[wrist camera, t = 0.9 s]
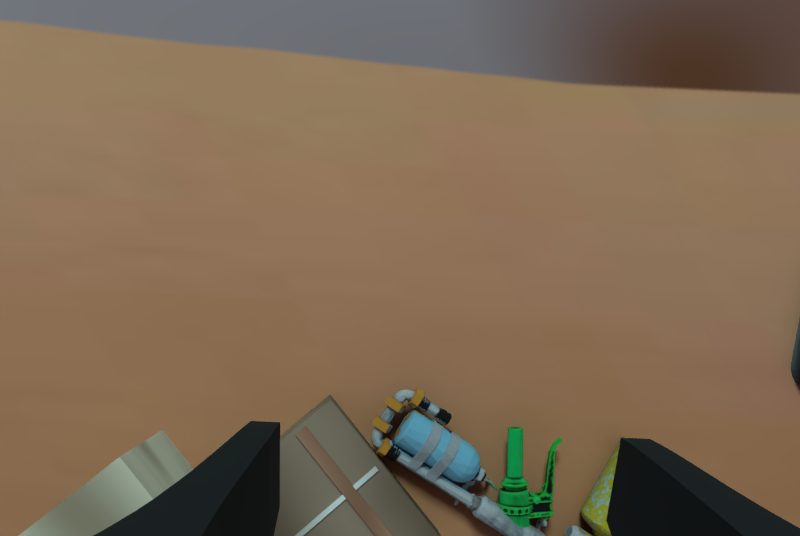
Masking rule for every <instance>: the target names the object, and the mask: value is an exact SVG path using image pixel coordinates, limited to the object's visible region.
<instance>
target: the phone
mask: <svg viewBox="0 0 800 536" xmlns="http://www.w3.org/2000/svg"><path fill="white" fill-rule="evenodd" d="M791 372H792V376H793V378H794V380H795V381H796V382H797V383H798V384H799V385H800V319H799V324H798V330H797V335H796V340H795V346H794V351H793V356H792V362H791Z"/></svg>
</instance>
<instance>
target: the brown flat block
mask: <svg viewBox="0 0 800 536" xmlns="http://www.w3.org/2000/svg"><path fill="white" fill-rule="evenodd" d="M274 536H441V535H440V534H439V532H438V530H437V529H436V527H435V526H434V525H433V524H432V522H431V521H430V520H429V519H428V517H427V516H426V515H425V514H424V512H423V511H422V510H421V509H420V507H419V506H418V505H417V504H416V502H415V501H414V500H413V498H412V497H411V496H410V495H409V493H408V492H407V491H406V490H405V488H404V487H403V486H402V485H401V483H400V482H399V481H398V480H397V478H396V477H395V476H394V475H393V473H392V472H391V471H390V470H389V468H388V467H387V466H386V465H385V463H384V462H383V461H382V459H381V458H380V457H379V456H378V454H376V452H375V451H374V449H373V448H372V447H371V446H370V444H369V443H368V442H367V441H366V439H365V438H364V437H363V436H362V434H361V433H360V432H359V431H358V429H357V428H356V427H355V425H354V424H353V423H352V422H351V420H350V419H349V418H348V417H347V415H346V414H345V413H344V412H343V410H342V409H341V408H340V407H339V405H338V404H337V403H336V402H335V400H334V399H333V398H332V397H331V395H330V396H329V397H327V398H326V399H325V400H324V401H323V402H321V403H320V404H319V405H318V406H316V407H315V408H314V409H313V410H312V411H310V412H309V413H308V414H307V415H305V416H304V417H303V418H302V419H301V420H299V421H298V422H297V423H296V424H295V425H293V426H292V427H291V428H290V429H288V430H287V431H286V432H285V433H284V434H282V435H281V436H280V508H279V513H278V518H277V522H276V527H275V532H274Z"/></svg>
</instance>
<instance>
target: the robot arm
mask: <svg viewBox="0 0 800 536" xmlns="http://www.w3.org/2000/svg"><path fill="white" fill-rule="evenodd" d="M279 508H280V422H257V421H251V422H249V423H248V424H247V425H246V426H244V427H243V428H242V429H241V430H240V431H238V432H237V433H236V434H235V435H234V436H233V437H231V438H230V439H229V440H228V441H227V442H226V443H224V444H223V445H222V446H221V447H220V448H219V449H217V450H216V451H215V452H214V453H213V454H212V455H210V456H209V457H208V458H207V459H206V460H204V461H203V462H202V463H201V464H199V465H198V466H197V467H196V468H195V469H193V470H192V471H191V472H190V473H188V474H187V475H185V476H184V477H183V478H181V479H180V480H179V481H177V482H176V483H175V484H173V485H172V486H171V487H169V488H168V489H166V490H165V491H164V492H162V493H161V494H160V495H158V496H157V497H156V498H154V499H153V500H151V501H150V502H148V503H147V504H145V505H144V506H142V507H141V508H139V509H137V510H136V511H134V512H133V513H131V514H130V515H128V516H126V517H125V518H123V519H121V520H120V521H118V522H116V523H115V524H113V525H111V526H110V527H108V528H106V529H104V530H103V531H101V532H99V533H97V534H95V535H93V536H274V532H275V527H276V522H277V518H278V513H279ZM606 521H607V524H608V527H609V530H610V533H611V536H800V528H798V527H796V526H794V525H793V524H791V523H789V522H787V521H786V520H784V519H782V518H780V517H779V516H777V515H775V514H773V513H772V512H770V511H768V510H766V509H765V508H763V507H761V506H760V505H758V504H756V503H755V502H753V501H751V500H750V499H748V498H746V497H745V496H743V495H741V494H740V493H738V492H736V491H735V490H733V489H732V488H730V487H728V486H727V485H725V484H724V483H722V482H720V481H719V480H717V479H716V478H714V477H712V476H711V475H709V474H708V473H706V472H704V471H703V470H701V469H700V468H698V467H697V466H695V465H693V464H692V463H690V462H689V461H687V460H685V459H684V458H682V457H681V456H679V455H677V454H676V453H674V452H672V451H671V450H669V449H667V448H666V447H664V446H662V445H660V444H658V443H656V442H654V441H652V440H650V439H637V438H621V441H620V446H619V452H618V457H617V463H616V469H615V474H614V480H613V485H612V491H611V497H610V502H609V508H608V513H607V519H606Z"/></svg>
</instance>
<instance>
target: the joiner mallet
mask: <svg viewBox="0 0 800 536" xmlns="http://www.w3.org/2000/svg"><path fill="white" fill-rule="evenodd" d="M192 470H193V468H192V466H191V465H190V464H189V463H188V461H187V460H186V459H185V458H184V456H183V455H182V454H181V453H180V451H179V450H178V449H177V448H176V446H175V445H174V444H173V443H172V441H171V440H170V439H169V437H168V436H167V435H166V434H165V432H164V431H163V430H162V431H160V432H158V433H157V434H155V435H154V436H152V437H150V438H149V439H147V440H146V441H144V442H142V443H141V444H139V445H138V446H136V447H134V448H133V449H131V450H130V451H128V452H126V453H125V454H123V455H122V456H120V457H119V458H117V459H116V460H115V461H114V462H112V463H111V464H110V465H108V466H107V467H106V468H105V469H103V470H102V471H101V472H100V473H98V474H97V475H96V476H94V477H93V478H92V479H91V480H89V481H88V482H87V483H85V484H84V485H83V486H82V487H80V488H79V489H78V490H77V491H75V492H74V493H73V494H71V495H70V496H69V497H68V498H66V499H65V500H64V501H62V502H61V503H60V504H59V505H57V506H56V507H55V508H54V509H52V510H51V511H50V512H48V513H47V514H46V515H45V516H43V517H42V518H41V519H39V520H38V521H37V522H36V523H34V524H33V525H32V526H31V527H29V528H28V529H27V530H25V531H24V532H23V533H22V534H20V535H19V536H93V535H95V534H97V533H99V532H101V531H103V530H104V529H106V528H108V527H110V526H111V525H113V524H115V523H116V522H118V521H120V520H121V519H123V518H125V517H126V516H128V515H130V514H131V513H133V512H134V511H136V510H137V509H139V508H141V507H142V506H144V505H145V504H147V503H148V502H150V501H151V500H153V499H154V498H156V497H157V496H158V495H160V494H161V493H162V492H164V491H165V490H166V489H168V488H169V487H171V486H172V485H173V484H175V483H176V482H177V481H179V480H180V479H181V478H183V477H184V476H185V475H187V474H188V473H190V472H191V471H192Z"/></svg>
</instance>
